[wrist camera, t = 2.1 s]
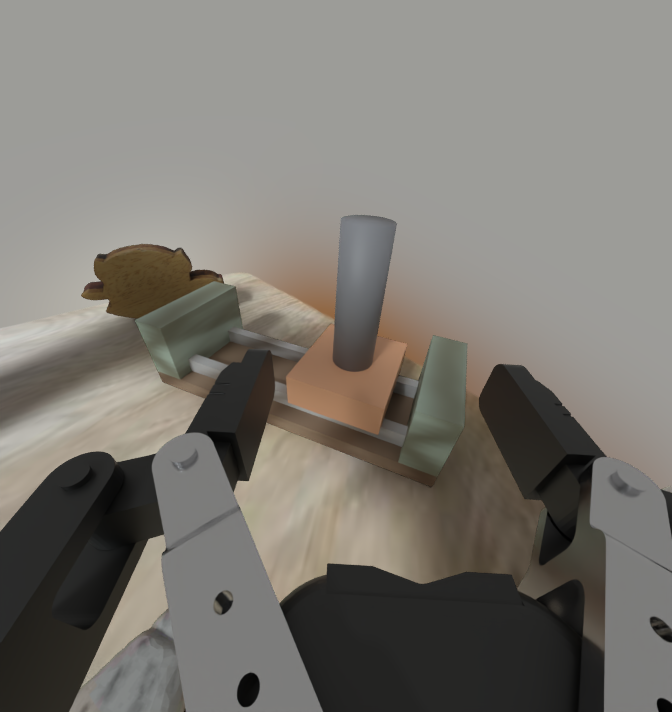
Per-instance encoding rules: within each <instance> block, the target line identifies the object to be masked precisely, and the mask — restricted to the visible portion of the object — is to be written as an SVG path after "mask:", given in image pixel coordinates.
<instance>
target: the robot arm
mask: <svg viewBox="0 0 672 712" xmlns="http://www.w3.org/2000/svg"><path fill="white" fill-rule="evenodd" d="M274 394H275V377H274V369H273V361H272V353H271V351H270V350H262V349H248V350H247V352H246V354H245V356H244V358H243V360H242V362H241V363H240V362H232V363H231V364H230V365H228V366H227V367H226V368H225V369H223V370H222V371H221V372H220V374H219V376H218V378H217V379H216V381H215V385H213V386H212V388H211V390H210V392H209V394H208V395H207V397H206V399H205V400H204V402H203V404H202V405H201V407H200V409H199V411H198V412H197V414H196V416H195V418H194V419H193V421H192V423H191V425H190V426H189V428H188V430H187V431H186V433H185V434H183V435H180V436H178V437H175V438H173V439H172V440H170V441H169V442H167V443H166V444H165V445H164V446H163V447H162V448H160V450H159V451H158V452H157V453H156V454H153V455H149V456H144V457H140V458H135V459H131V460H126V461H121V462H116V461H115V460H114V458H113V457H112V456H111V455H110V454H108V453H105V452H89V453H85V454H82V455H79V456H77V457H74V458H72V459H70V460H68V461H66V462H65V463H63V464H62V465H60V466H59V467H57V468H56V469H55V470H54V471H53V472H51V473H50V474H49V475H48V476H47V478H46V479H45V480H44V481H43V482H42V483H41V484H40V486H39V487H38V488H37V489H36V490H35V491H34V493H33V494H32V495H31V496H30V497H29V499H28V500H27V501H26V502H25V503H24V504H23V506H22V507H21V508H20V509H19V510H18V511H17V513H16V514H15V515H14V516H13V517H12V518H11V520H10V521H9V522H8V523H7V524H6V525H5V527H4V528H3V529H2V530H1V531H0V712H69V711H70V709H71V707H72V705H73V703H74V700H75V698H76V696H77V694H78V692H79V689H80V687H81V685H82V683H83V681H84V679H85V676H86V674H87V672H88V670H89V668H90V665H91V663H92V661H93V659H94V657H95V655H96V652H97V650H98V648H99V646H100V644H101V642H102V639H103V637H104V635H105V633H106V631H107V628H108V626H109V624H110V622H111V620H112V618H113V615H114V613H115V611H116V609H117V607H118V604H119V602H120V600H121V598H122V596H123V594H124V591H125V589H126V587H127V585H128V583H129V580H130V578H131V576H132V574H133V572H134V570H135V567H136V565H137V563H138V561H139V559H140V557H141V554H142V552H143V550H144V548H145V546H146V543H147V541H148V539H150V538H153V537H157V536H160V535H164V536H165V541H166V550H165V551H164V552H163V553H162V559H161V562H162V572H163V579H164V585H165V591H166V596H167V602H168V608H169V614H170V620H171V626H172V632H173V638H174V644H175V650H176V656H177V662H178V667H179V673H180V679H181V685H182V691H183V697H184V703H185V709H186V712H672V493H671V492H668V491H665V490H661V489H659V487H658V486H657V485H656V484H655V483H654V482H653V481H652V480H651V479H650V478H649V477H648V476H646V475H645V474H644V473H643V472H641V471H640V470H638V469H637V468H635V467H633V466H631V465H629V464H628V463H625V462H623V461H621V460H617V459H614V458H608V457H606V456H605V454H604V453H603V452H602V451H601V450H600V448H599V447H598V446H597V445H596V444H595V443H594V441H593V440H592V439H591V438H590V436H589V435H588V434H587V433H586V432H585V431H584V429H583V428H582V427H581V426H580V424H579V423H578V422H577V421H576V420H575V419H574V417H571V414H570V413H569V411H568V410H567V409H566V408H565V407H564V406H562V403H561V402H560V401H559V399H558V398H557V397H556V396H555V395H554V393H553V392H552V391H550V390H549V389H548V388H546V387H545V386H544V385H542V384H541V383H540V382H538V381H536V380H535V379H534V378H533V377H532V375H531V374H530V373H529V372H528V370H527V369H526V368H525V367H524V366H521V365H506V364H505V365H504V364H498V365H496V366H495V367H494V369H493V371H492V373H491V375H490V377H489V379H488V381H487V383H486V385H485V386H484V388H483V390H482V393H481V395H480V398H479V408H480V411H481V413H482V415H483V417H484V419H485V421H486V423H487V425H488V427H489V429H490V431H491V433H492V435H493V437H494V439H495V441H496V443H497V445H498V447H499V449H500V451H501V453H502V455H503V457H504V459H505V461H506V463H507V465H508V467H509V469H510V471H511V473H512V475H513V477H514V479H515V481H516V483H517V485H518V487H519V489H520V491H521V493H522V495H523V497H524V499H532V500H542V501H543V503H544V505H545V507H544V508H543V509H542V510H541V512H540V516H539V521H538V526H537V531H536V536H535V541H534V546H533V551H532V556H531V561H530V565H529V568H528V571H527V573H526V575H525V577H524V578H523V579H522V581H521V583H520V585H519V587H518V589H517V588H516V585H515V582H514V580H513V577H512V575H508V574H492V573H476V572H464V573H461V574H458V575H454V576H451V577H447V578H444V579H441V580H437V581H434V582H431V583H427V584H419V583H416V582H413V581H410V580H408V579H405V578H402V577H400V576H397V575H394V574H392V573H389V572H387V571H384V570H381V569H379V568H376V567H373V566H361V565H344V564H327V575H324V576H320V577H317V578H314V579H312V580H310V581H308V582H306V583H304V584H302V585H301V586H299V587H298V588H296V589H295V590H294V591H292V592H291V593H290V594H289V595H288V596H286V597H285V598H284V599H283V600H282V601H281V602H280V604H279V602H278V600H277V597H276V595H275V592H274V590H273V588H272V585H271V583H270V580H269V578H268V575H267V573H266V570H265V568H264V565H263V563H262V560H261V558H260V556H259V553H258V551H257V548H256V546H255V543H254V541H253V538H252V536H251V533H250V531H249V528H248V526H247V524H246V521H245V519H244V516H243V514H242V511H241V509H240V507H239V505H238V503H237V500H236V498H235V496H234V490H235V487H236V484H237V481H249V478H250V475H251V472H252V468H253V465H254V462H255V458H256V455H257V452H258V448H259V445H260V442H261V438H262V435H263V432H264V429H265V425H266V422H267V419H268V415H269V412H270V409H271V405H272V402H273V399H274Z"/></svg>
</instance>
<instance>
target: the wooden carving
mask: <svg viewBox="0 0 672 712" xmlns="http://www.w3.org/2000/svg"><path fill="white" fill-rule="evenodd" d="M191 270H192V265H191V262H190V259H189V258H188V256H187V255H186V254H185V252H184V250H183V249H182V248H177V249H176V250H175V251H174V250H171V249H169V248H167V247H164V246H159V245H152V244H139V245H131V246H126V247H123V248H119V249H116V250H113V251H112V252H110V253H108V254H98V255H97V257H96V259H95V261H94V272H95V275H96V276H97V278H98V279H99V280H101V282H91V283H88V284H87V285H86V286H85V288H84V292H83V293H82V295H81V296H82V297H83V298H85V299H90V300H104V299H108V300H109V305H108V307H107V310H106V312H107V313H110V314H114V315H117V316H123V317H129V318H135V319H138V318H140V317H142V316H144V315H146V314H148V313H150V312H152V311H154V310H157V309H159V308H161V307H163V306H165V305H167V304H169V303H171V302H173V301H175V300H177V299H179V298H181V297H183V296H185V295H187V294H189V293H191V292H193V291H195V290H197V289H199V288H201V287H203V286H205V285H207V284H209V283H211V282H214V281H215V282H219V283H223V284H224V281H223V278H222V275H221V274H217V273H215V272H213V271H210V270H195V271H191Z"/></svg>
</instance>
